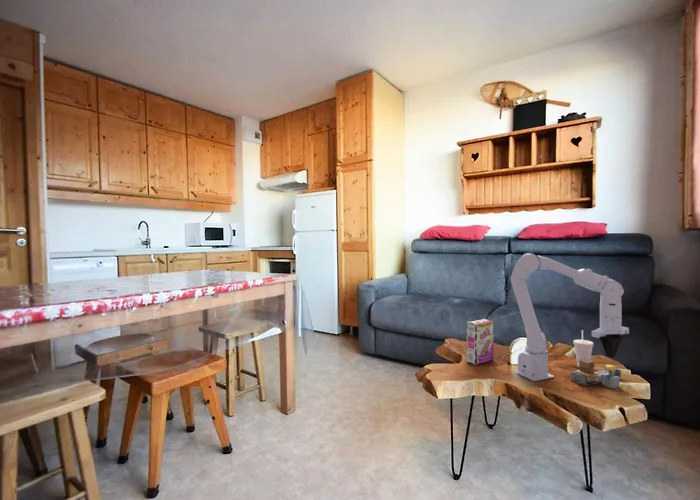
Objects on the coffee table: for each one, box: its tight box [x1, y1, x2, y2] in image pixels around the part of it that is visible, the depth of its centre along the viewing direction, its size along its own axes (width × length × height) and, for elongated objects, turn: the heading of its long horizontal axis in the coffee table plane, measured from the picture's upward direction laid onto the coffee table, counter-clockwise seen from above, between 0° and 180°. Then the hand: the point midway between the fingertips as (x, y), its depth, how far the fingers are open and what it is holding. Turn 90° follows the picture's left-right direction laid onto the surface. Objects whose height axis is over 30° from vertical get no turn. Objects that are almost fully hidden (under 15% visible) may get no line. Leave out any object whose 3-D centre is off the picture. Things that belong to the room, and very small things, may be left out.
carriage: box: [574, 359, 598, 382], centre depth 117 cm, size 5×4×6 cm
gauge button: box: [605, 364, 617, 380], centre depth 112 cm, size 3×3×5 cm
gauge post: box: [601, 373, 620, 390], centre depth 112 cm, size 3×4×4 cm
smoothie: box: [573, 329, 594, 368], centre depth 129 cm, size 6×6×14 cm
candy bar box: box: [466, 318, 495, 366], centre depth 138 cm, size 11×5×16 cm, turn 121°
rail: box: [570, 364, 622, 387], centre depth 118 cm, size 17×5×3 cm, turn 108°
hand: (610, 356), depth 112 cm, fingers closed
